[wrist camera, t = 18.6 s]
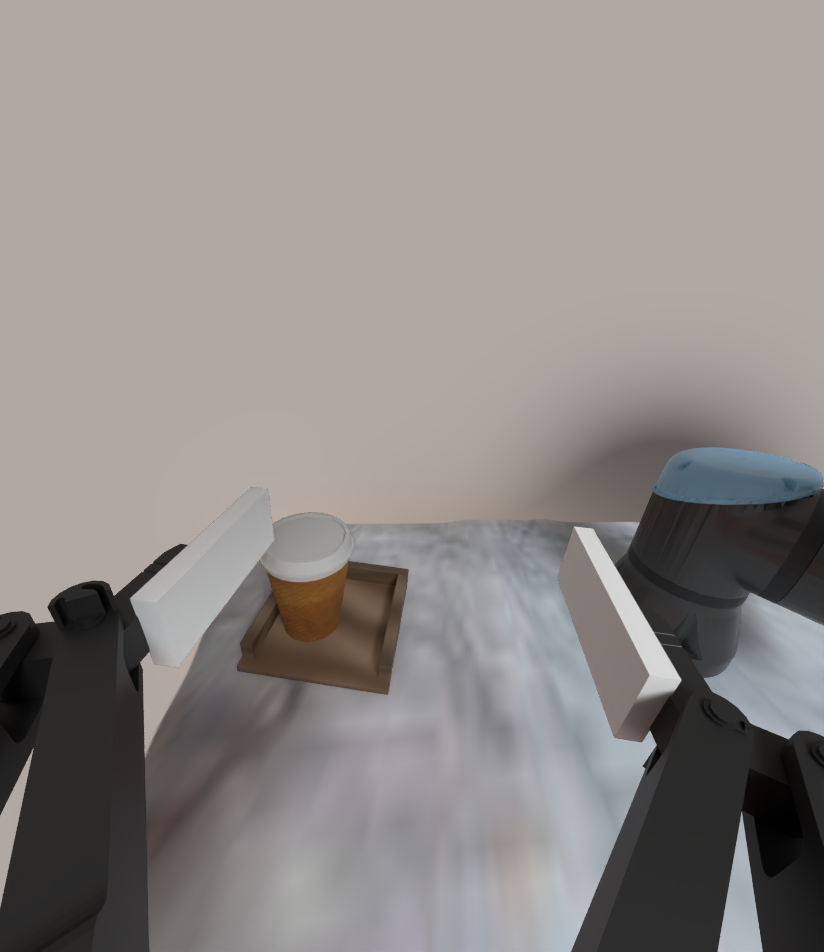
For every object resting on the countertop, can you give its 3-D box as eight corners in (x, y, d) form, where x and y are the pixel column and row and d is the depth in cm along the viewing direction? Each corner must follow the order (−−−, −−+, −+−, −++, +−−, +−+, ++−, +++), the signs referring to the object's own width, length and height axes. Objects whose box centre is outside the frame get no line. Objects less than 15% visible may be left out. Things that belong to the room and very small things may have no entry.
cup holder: (387, 694, 36) (389, 677, 34) (237, 670, 37) (233, 653, 35) (407, 584, 49) (408, 569, 48) (297, 569, 50) (296, 554, 49)
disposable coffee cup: (256, 655, 38) (241, 565, 32) (282, 588, 46) (272, 508, 41) (349, 656, 38) (348, 568, 33) (357, 590, 47) (358, 511, 41)
